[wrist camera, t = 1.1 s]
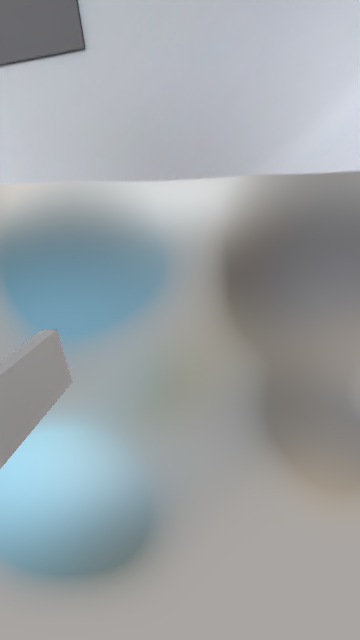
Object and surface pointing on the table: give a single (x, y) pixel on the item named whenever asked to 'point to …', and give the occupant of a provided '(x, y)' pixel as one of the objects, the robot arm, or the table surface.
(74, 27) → the mat
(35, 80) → the table surface
